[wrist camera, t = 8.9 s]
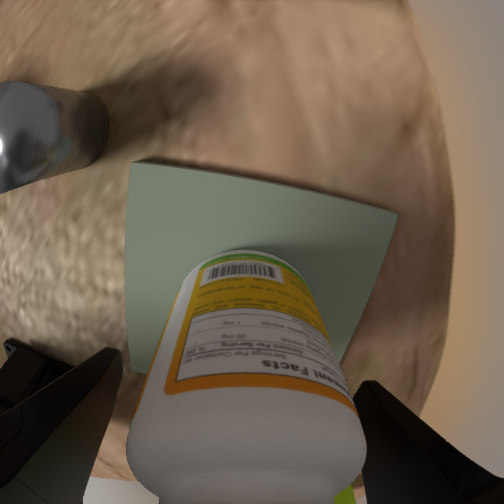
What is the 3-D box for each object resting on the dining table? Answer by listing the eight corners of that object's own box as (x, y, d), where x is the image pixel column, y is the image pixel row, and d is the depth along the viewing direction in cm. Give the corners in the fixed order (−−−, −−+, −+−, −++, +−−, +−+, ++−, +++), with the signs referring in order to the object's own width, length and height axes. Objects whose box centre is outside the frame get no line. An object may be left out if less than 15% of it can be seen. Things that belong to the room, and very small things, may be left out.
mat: (319, 388, 14) (321, 396, 13) (134, 362, 13) (130, 370, 13) (391, 211, 10) (398, 215, 10) (137, 160, 9) (130, 162, 9)
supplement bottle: (242, 375, 13) (243, 578, 4) (151, 304, 11) (59, 538, 2) (337, 310, 11) (429, 539, 2) (249, 215, 10) (269, 591, 1)
